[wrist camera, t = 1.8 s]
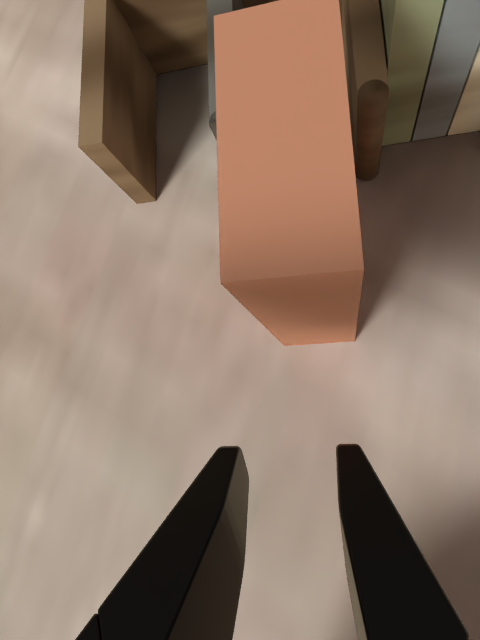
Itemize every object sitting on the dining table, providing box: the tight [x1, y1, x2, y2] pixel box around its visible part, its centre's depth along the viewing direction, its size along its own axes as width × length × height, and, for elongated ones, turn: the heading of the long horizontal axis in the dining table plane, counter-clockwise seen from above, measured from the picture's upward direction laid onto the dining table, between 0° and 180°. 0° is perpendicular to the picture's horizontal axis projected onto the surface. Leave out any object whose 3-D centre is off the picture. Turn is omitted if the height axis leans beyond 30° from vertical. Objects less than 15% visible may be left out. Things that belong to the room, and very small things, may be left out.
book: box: [214, 0, 364, 346], centre depth 17 cm, size 8×4×12 cm, turn 2°
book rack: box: [78, 0, 480, 204], centre depth 20 cm, size 10×20×10 cm, turn 92°
